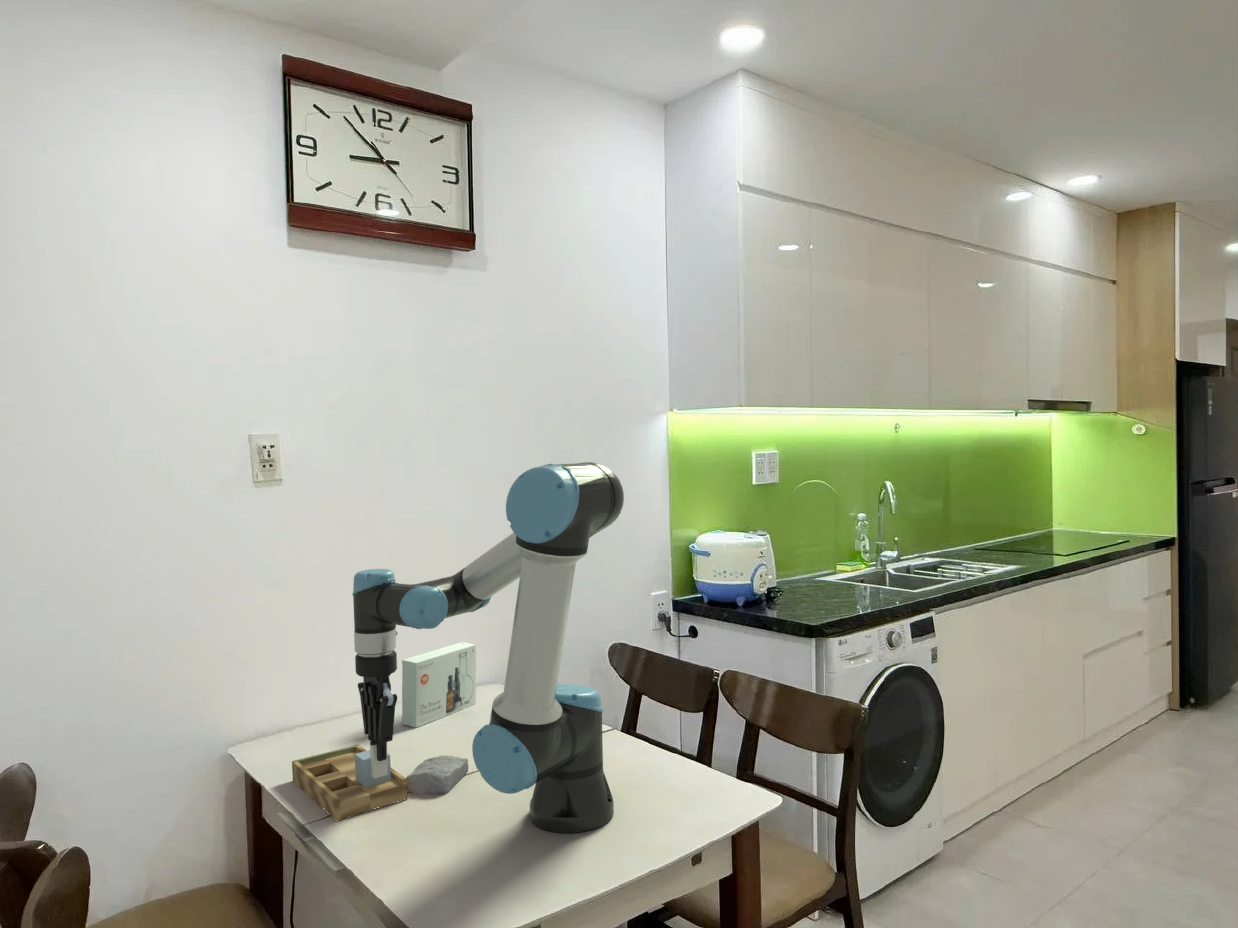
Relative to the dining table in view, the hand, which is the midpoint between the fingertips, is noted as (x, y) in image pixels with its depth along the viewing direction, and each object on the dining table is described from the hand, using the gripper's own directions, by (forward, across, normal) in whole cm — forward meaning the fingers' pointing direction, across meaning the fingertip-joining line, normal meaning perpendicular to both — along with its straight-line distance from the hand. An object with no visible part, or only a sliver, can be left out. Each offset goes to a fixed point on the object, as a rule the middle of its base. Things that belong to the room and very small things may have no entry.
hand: (379, 775), depth 160 cm
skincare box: (+5, +38, -32) cm, 50 cm away
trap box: (+5, +9, +3) cm, 11 cm away
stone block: (+5, +1, -12) cm, 14 cm away
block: (+2, +3, 0) cm, 4 cm away
